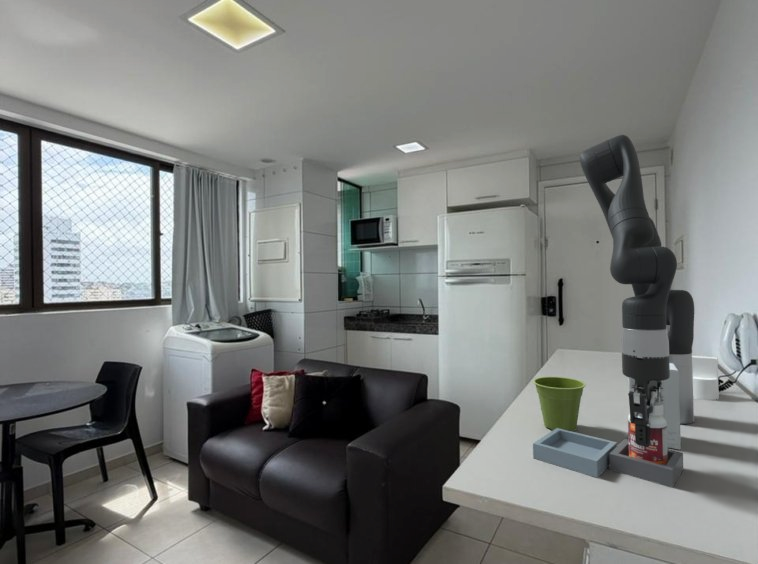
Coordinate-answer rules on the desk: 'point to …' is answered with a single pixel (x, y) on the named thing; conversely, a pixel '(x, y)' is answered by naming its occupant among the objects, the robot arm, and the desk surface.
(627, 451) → the gray hollow square frame
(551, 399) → the plant pot
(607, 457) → the parts tray
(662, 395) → the supplement box
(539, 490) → the desk surface
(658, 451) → the pill bottle
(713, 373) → the cylinder with rectangular tab
